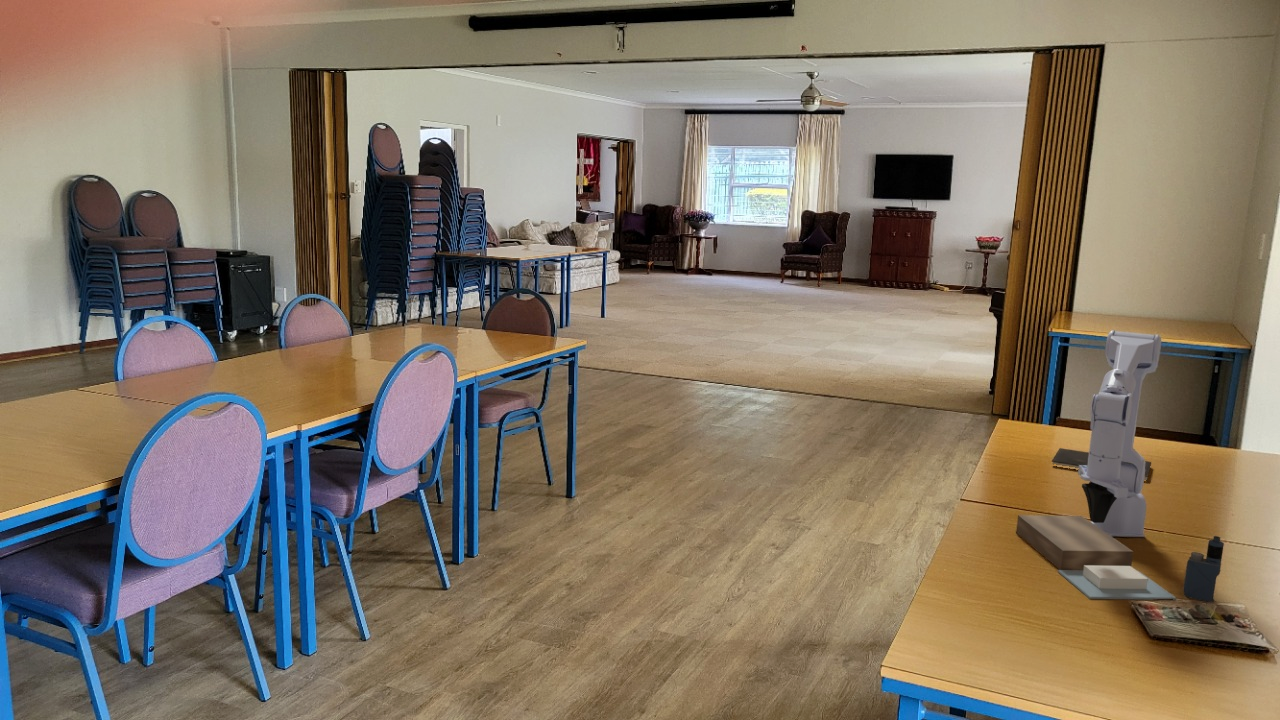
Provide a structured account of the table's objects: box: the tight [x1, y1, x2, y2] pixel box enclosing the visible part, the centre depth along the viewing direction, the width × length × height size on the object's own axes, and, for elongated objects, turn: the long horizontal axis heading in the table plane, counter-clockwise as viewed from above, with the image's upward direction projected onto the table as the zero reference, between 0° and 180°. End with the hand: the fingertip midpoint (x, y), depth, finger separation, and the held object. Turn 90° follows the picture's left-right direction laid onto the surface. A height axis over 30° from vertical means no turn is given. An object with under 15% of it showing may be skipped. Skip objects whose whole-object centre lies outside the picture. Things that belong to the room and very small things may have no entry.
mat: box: [1057, 569, 1177, 601], centre depth 176 cm, size 16×12×1 cm
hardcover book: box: [1051, 447, 1152, 481], centre depth 254 cm, size 16×23×2 cm
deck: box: [1015, 514, 1134, 570], centre depth 193 cm, size 14×20×4 cm
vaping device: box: [1182, 535, 1225, 603], centre depth 171 cm, size 3×5×12 cm, turn 58°
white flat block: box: [1083, 565, 1149, 589], centre depth 177 cm, size 9×6×2 cm, turn 92°
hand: (1097, 521), depth 183 cm, fingers closed
